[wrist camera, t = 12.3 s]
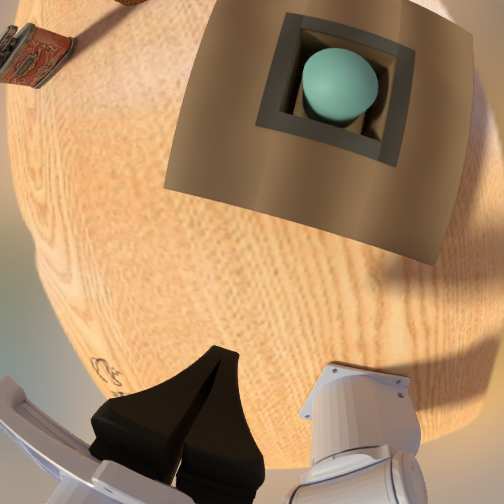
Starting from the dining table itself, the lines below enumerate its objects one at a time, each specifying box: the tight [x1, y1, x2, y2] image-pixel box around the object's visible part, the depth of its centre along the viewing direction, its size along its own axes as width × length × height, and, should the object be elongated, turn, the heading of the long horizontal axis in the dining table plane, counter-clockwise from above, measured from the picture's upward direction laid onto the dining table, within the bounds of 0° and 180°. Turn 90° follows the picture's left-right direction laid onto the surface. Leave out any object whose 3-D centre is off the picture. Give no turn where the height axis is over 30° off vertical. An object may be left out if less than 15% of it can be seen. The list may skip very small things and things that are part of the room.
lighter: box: [0, 23, 78, 89], centre depth 14 cm, size 8×3×10 cm, turn 112°
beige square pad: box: [293, 76, 366, 134], centre depth 16 cm, size 5×5×1 cm
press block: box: [164, 0, 474, 266], centre depth 14 cm, size 16×16×6 cm
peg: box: [303, 48, 378, 128], centre depth 14 cm, size 4×4×5 cm
